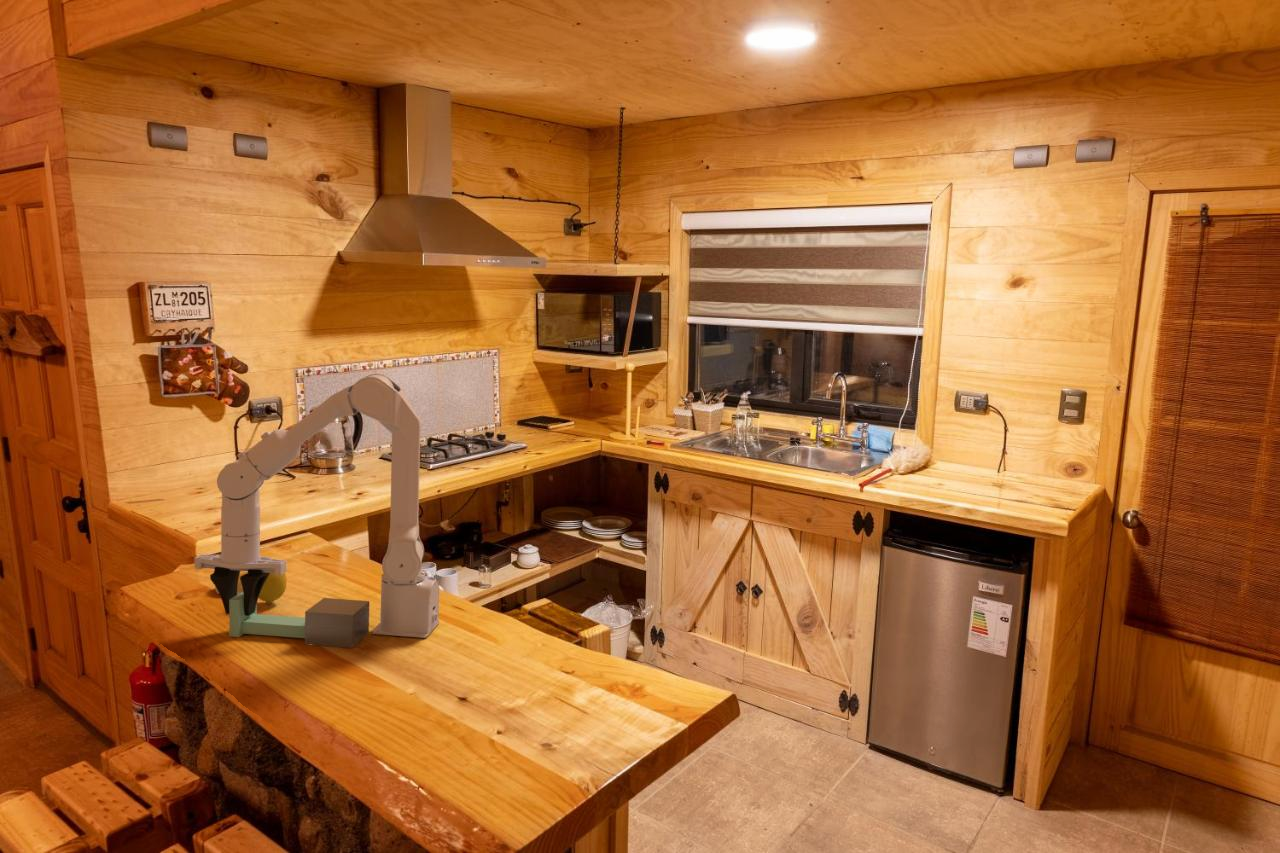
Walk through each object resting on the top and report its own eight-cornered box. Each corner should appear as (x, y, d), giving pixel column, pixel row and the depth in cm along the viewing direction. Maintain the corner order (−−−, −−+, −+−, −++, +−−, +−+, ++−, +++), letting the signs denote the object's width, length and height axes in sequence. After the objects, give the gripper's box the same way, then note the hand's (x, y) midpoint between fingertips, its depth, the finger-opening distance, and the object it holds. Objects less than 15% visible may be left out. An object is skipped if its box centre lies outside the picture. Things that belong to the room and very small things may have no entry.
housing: (368, 632, 138) (369, 601, 137) (352, 648, 131) (352, 615, 130) (323, 629, 138) (324, 597, 138) (304, 644, 131) (305, 611, 131)
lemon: (292, 600, 151) (292, 558, 150) (276, 610, 146) (276, 566, 145) (263, 597, 152) (264, 556, 151) (246, 607, 146) (246, 564, 145)
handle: (320, 629, 137) (320, 594, 137) (305, 642, 132) (305, 605, 131) (241, 623, 138) (241, 588, 137) (223, 635, 133) (223, 599, 132)
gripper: (295, 530, 137) (294, 608, 139) (211, 524, 138) (211, 601, 139) (274, 540, 130) (273, 622, 132) (186, 534, 131) (186, 615, 132)
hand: (240, 612), depth 135 cm, fingers closed on handle, 3 cm apart
